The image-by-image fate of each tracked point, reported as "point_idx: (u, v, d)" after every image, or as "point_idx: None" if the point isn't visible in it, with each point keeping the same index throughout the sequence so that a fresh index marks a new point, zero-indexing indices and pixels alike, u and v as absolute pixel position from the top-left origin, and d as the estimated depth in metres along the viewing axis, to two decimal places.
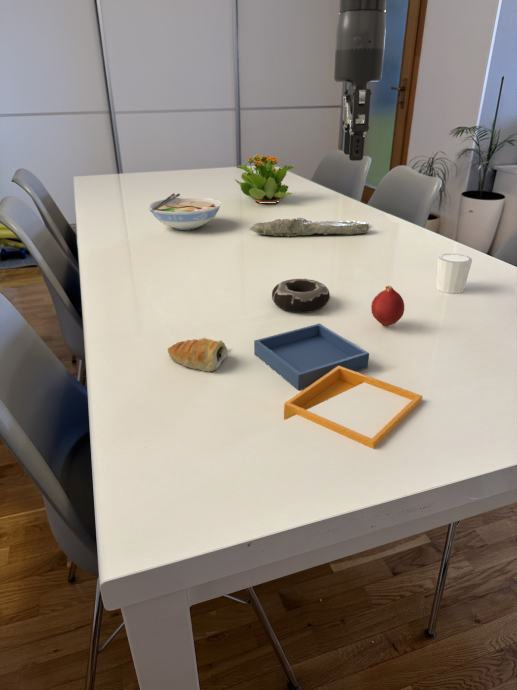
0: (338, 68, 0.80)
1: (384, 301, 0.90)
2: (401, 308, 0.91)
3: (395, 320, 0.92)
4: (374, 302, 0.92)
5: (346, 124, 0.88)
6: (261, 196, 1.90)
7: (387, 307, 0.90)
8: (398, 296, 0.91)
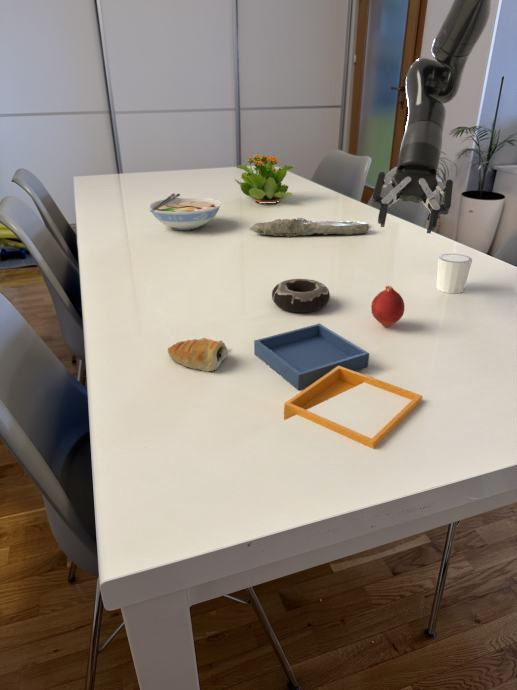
0: None
1: (384, 301, 0.90)
2: (401, 308, 0.91)
3: (395, 320, 0.92)
4: (374, 302, 0.92)
5: (428, 209, 0.97)
6: (261, 196, 1.90)
7: (387, 307, 0.90)
8: (398, 296, 0.91)
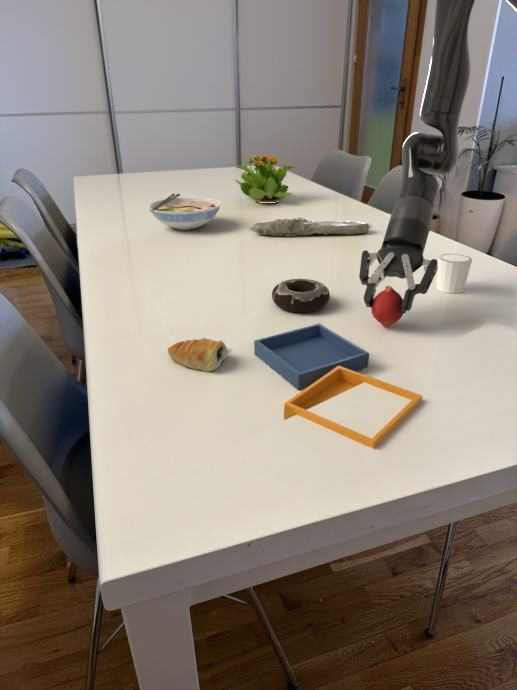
0: None
1: (384, 301, 0.90)
2: None
3: (395, 320, 0.92)
4: (374, 302, 0.92)
5: None
6: (261, 196, 1.90)
7: (387, 307, 0.90)
8: (398, 296, 0.91)
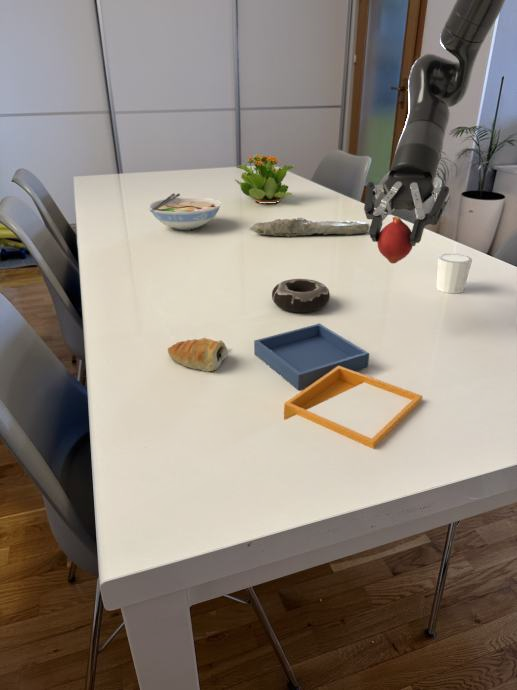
0: None
1: (391, 233, 0.84)
2: None
3: (403, 254, 0.85)
4: (381, 235, 0.85)
5: None
6: (261, 196, 1.90)
7: (394, 239, 0.83)
8: (406, 227, 0.84)
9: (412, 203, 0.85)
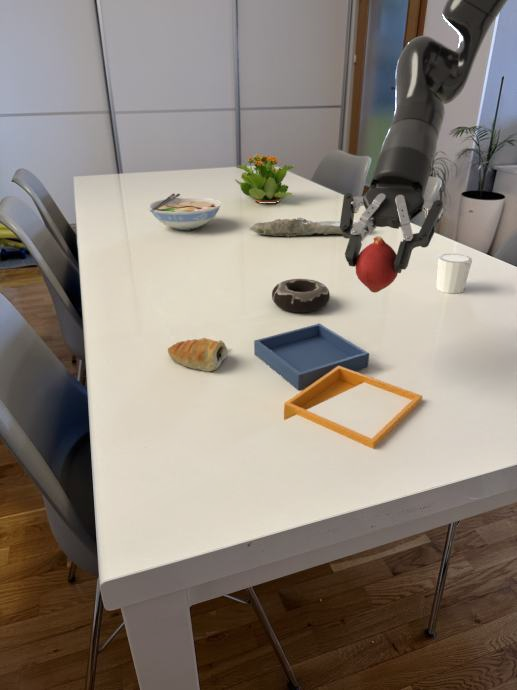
0: None
1: (371, 257, 0.68)
2: None
3: (386, 282, 0.69)
4: (359, 258, 0.70)
5: None
6: (261, 196, 1.90)
7: (375, 264, 0.68)
8: (390, 250, 0.68)
9: (398, 220, 0.69)
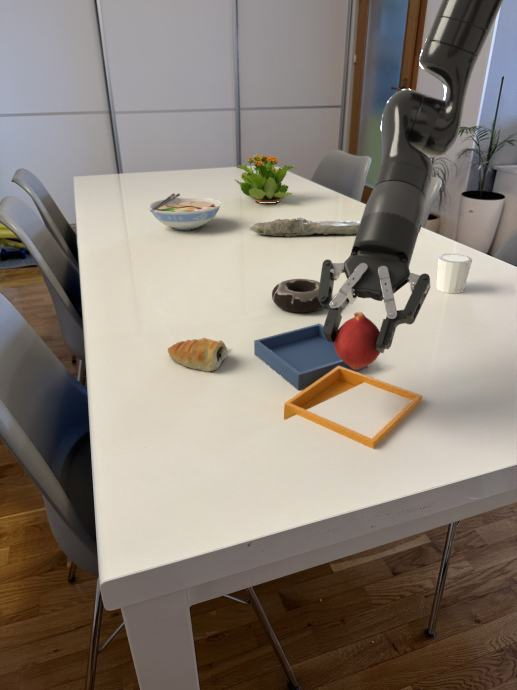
0: None
1: (351, 335, 0.62)
2: None
3: (368, 362, 0.63)
4: (339, 335, 0.63)
5: None
6: (261, 196, 1.90)
7: (356, 344, 0.62)
8: (372, 327, 0.62)
9: (381, 294, 0.63)
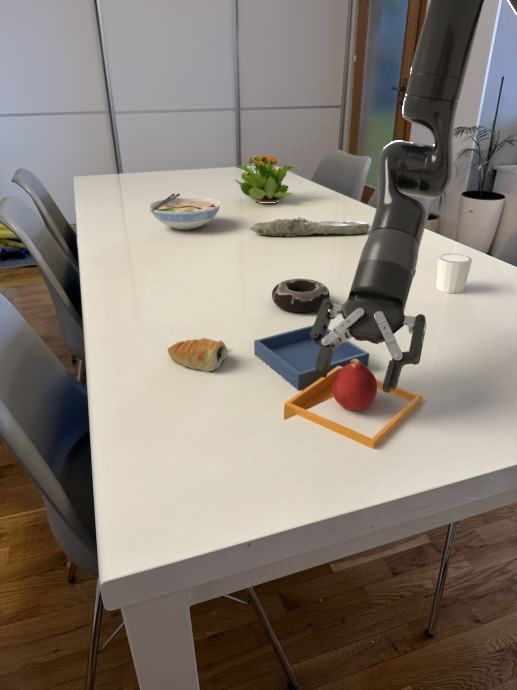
0: None
1: (348, 382, 0.65)
2: (372, 391, 0.65)
3: (364, 406, 0.66)
4: (336, 380, 0.66)
5: (391, 355, 0.66)
6: (261, 196, 1.90)
7: (352, 390, 0.65)
8: (368, 374, 0.65)
9: (377, 338, 0.66)
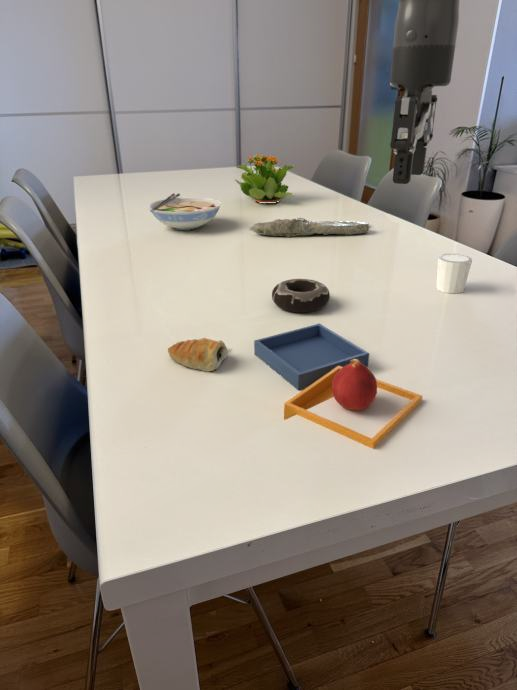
0: (391, 70, 0.65)
1: (347, 382, 0.65)
2: (372, 391, 0.65)
3: (364, 406, 0.66)
4: (336, 380, 0.66)
5: None
6: (261, 196, 1.90)
7: (352, 390, 0.65)
8: (368, 374, 0.65)
9: None
